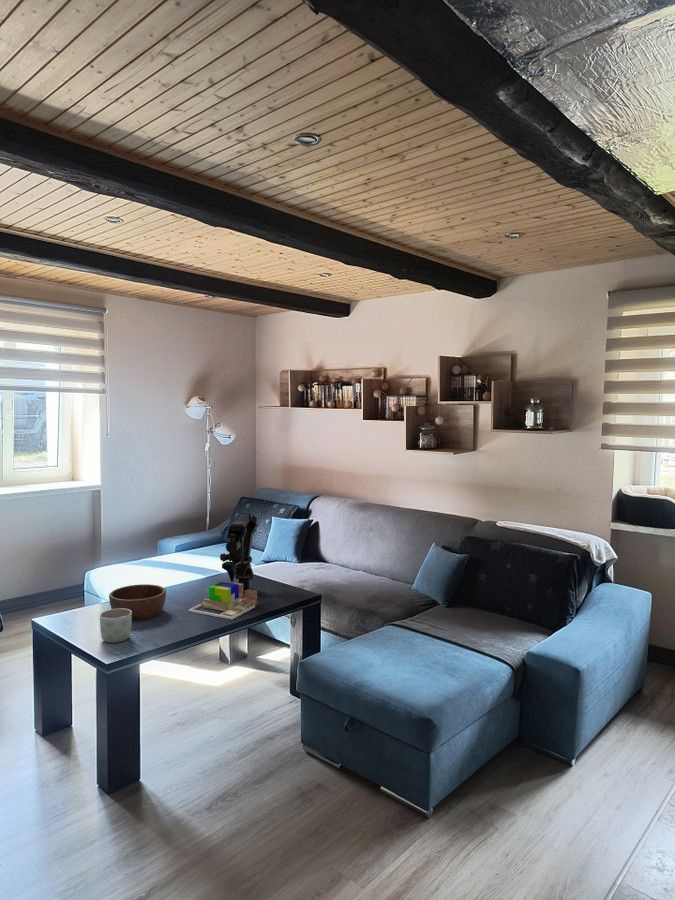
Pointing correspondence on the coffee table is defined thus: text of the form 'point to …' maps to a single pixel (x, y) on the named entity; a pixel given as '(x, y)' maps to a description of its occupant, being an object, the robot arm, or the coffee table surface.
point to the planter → (116, 625)
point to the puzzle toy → (224, 592)
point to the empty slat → (249, 601)
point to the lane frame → (221, 613)
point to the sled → (223, 605)
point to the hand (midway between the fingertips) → (237, 579)
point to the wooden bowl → (139, 600)
